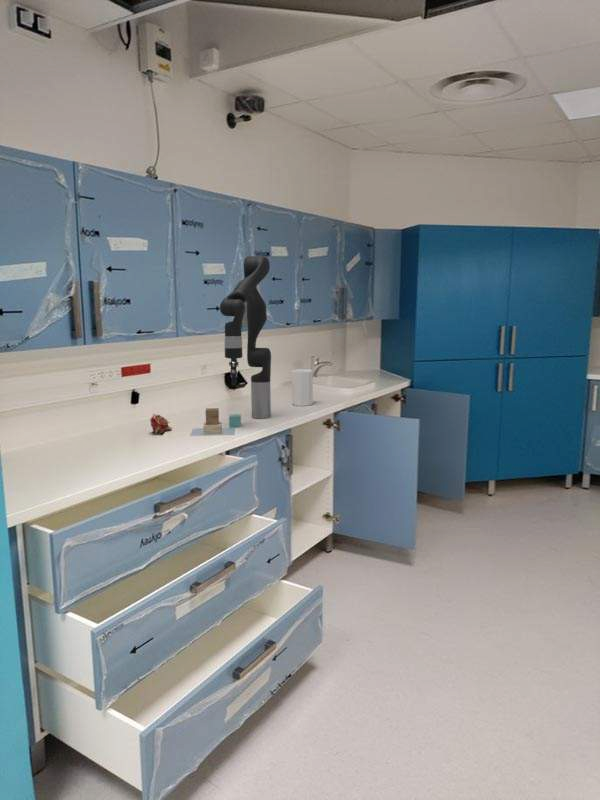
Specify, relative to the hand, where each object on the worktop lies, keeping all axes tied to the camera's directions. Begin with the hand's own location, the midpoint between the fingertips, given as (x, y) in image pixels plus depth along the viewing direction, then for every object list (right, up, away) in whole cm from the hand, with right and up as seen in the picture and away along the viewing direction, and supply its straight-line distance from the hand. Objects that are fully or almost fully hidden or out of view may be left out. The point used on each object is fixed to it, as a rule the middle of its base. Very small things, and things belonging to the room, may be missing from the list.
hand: (234, 384), depth 250 cm
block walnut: (-8, -17, -10) cm, 21 cm away
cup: (+30, -9, +62) cm, 70 cm away
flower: (-30, -21, -4) cm, 37 cm away
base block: (-8, -20, -10) cm, 24 cm away
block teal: (0, -19, +3) cm, 20 cm away
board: (-8, -21, -7) cm, 24 cm away
